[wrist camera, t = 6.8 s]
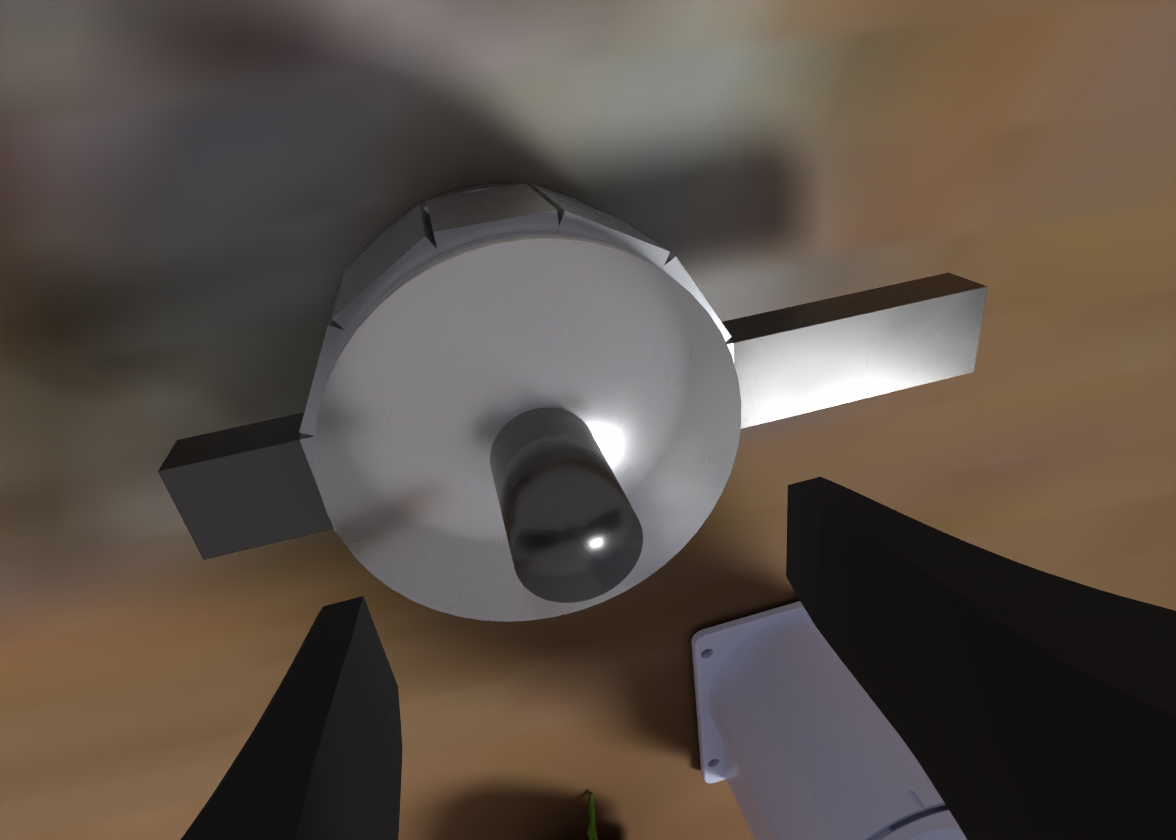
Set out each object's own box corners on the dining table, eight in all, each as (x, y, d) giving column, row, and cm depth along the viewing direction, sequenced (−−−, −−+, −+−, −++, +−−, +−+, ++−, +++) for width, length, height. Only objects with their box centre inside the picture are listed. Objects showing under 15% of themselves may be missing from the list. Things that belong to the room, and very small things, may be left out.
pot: (858, 415, 24) (957, 488, 20) (290, 556, 21) (263, 678, 17) (880, 115, 20) (1016, 125, 15) (152, 240, 17) (66, 299, 12)
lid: (703, 541, 20) (794, 680, 15) (365, 606, 18) (354, 786, 13) (721, 205, 15) (856, 258, 11) (276, 242, 14) (213, 327, 9)
